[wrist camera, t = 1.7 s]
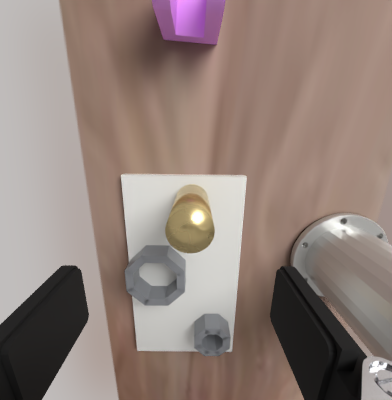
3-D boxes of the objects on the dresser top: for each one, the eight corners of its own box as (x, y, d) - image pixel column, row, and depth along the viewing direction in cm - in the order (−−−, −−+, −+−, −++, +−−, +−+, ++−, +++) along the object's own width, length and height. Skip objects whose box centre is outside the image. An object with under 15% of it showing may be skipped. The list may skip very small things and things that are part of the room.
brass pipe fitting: (213, 191, 25) (222, 218, 16) (200, 219, 26) (203, 259, 17) (182, 179, 24) (175, 200, 16) (171, 208, 25) (158, 243, 17)
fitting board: (244, 175, 25) (252, 180, 22) (230, 345, 33) (234, 368, 30) (123, 173, 25) (112, 178, 22) (139, 344, 33) (132, 367, 30)
